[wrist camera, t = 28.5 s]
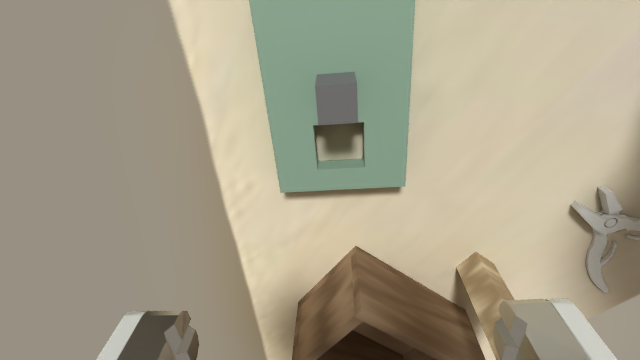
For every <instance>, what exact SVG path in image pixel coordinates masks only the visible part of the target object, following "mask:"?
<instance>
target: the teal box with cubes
mask: <svg viewBox="0 0 640 360" xmlns="http://www.w3.org/2000/svg"><path fill="white" fill-rule="evenodd" d="M249 3H250V9H251V15H252V21H253V27H254V33H255V39H256V45H257V51H258V58H259V64H260V70H261V76H262V82H263V88H264V94H265V100H266V106H267V113H268V119H269V125H270V131H271V137H272V143H273V149H274V155H275V161H276V168H277V174H278V180H279V186H280V192H281V193H285V192H305V191H324V190H344V189H364V188H383V187H403V186H405V182H406V163H407V144H408V125H409V106H410V87H411V68H412V49H413V30H414V11H415V0H249ZM359 122H363V147H364V159H347V160H329V161H318V160H317V149H316V138H315V128H314V125H332V124H347V123H359Z"/></svg>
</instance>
